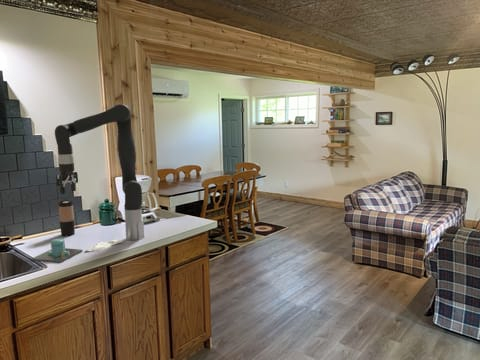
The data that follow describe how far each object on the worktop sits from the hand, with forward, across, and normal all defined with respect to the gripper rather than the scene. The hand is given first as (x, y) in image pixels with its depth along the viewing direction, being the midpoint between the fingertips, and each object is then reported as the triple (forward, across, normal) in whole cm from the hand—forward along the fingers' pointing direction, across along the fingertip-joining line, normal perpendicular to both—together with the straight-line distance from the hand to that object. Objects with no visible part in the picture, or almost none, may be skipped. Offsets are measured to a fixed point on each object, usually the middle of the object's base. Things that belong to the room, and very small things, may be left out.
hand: (68, 192), depth 195 cm
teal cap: (+27, -20, -7) cm, 34 cm away
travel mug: (+28, +12, +12) cm, 33 cm away
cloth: (+29, -1, -21) cm, 36 cm away
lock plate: (+28, -20, -7) cm, 35 cm away
